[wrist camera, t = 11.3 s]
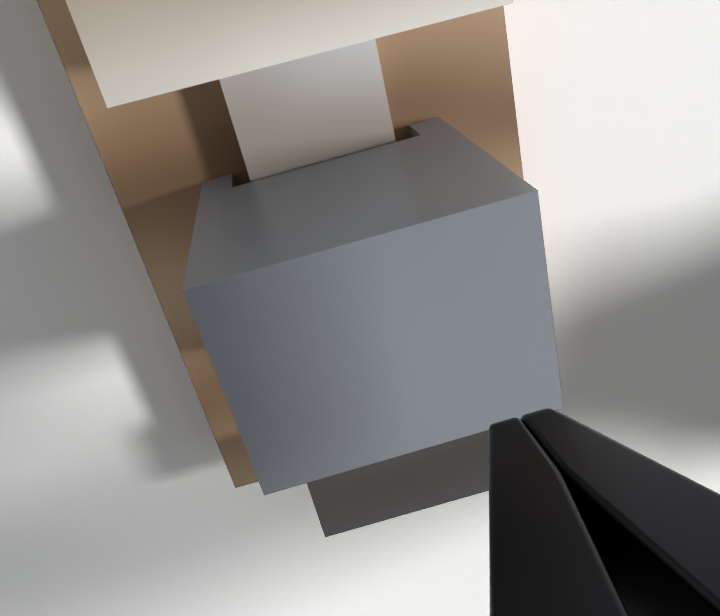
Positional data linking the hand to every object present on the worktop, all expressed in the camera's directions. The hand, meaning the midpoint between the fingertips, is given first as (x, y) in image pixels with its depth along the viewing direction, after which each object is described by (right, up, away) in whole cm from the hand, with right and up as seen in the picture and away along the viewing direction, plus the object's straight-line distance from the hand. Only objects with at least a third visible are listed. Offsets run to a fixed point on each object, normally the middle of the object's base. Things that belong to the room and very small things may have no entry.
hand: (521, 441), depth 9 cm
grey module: (-3, +4, +9) cm, 10 cm away
